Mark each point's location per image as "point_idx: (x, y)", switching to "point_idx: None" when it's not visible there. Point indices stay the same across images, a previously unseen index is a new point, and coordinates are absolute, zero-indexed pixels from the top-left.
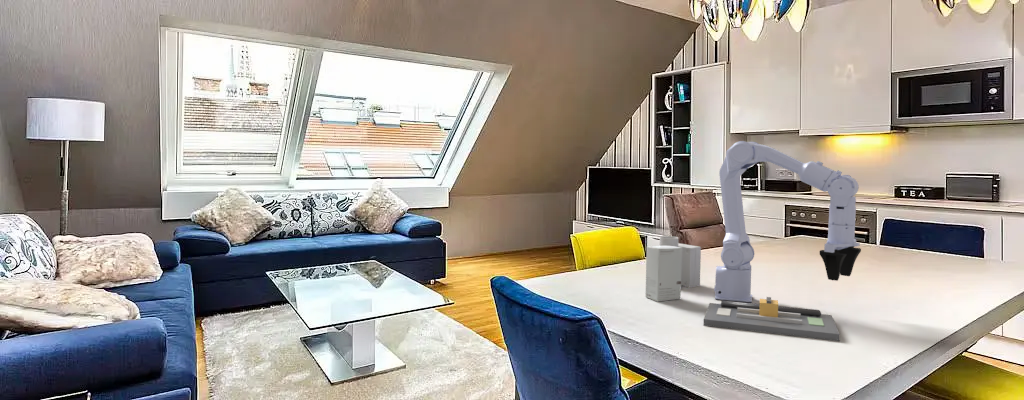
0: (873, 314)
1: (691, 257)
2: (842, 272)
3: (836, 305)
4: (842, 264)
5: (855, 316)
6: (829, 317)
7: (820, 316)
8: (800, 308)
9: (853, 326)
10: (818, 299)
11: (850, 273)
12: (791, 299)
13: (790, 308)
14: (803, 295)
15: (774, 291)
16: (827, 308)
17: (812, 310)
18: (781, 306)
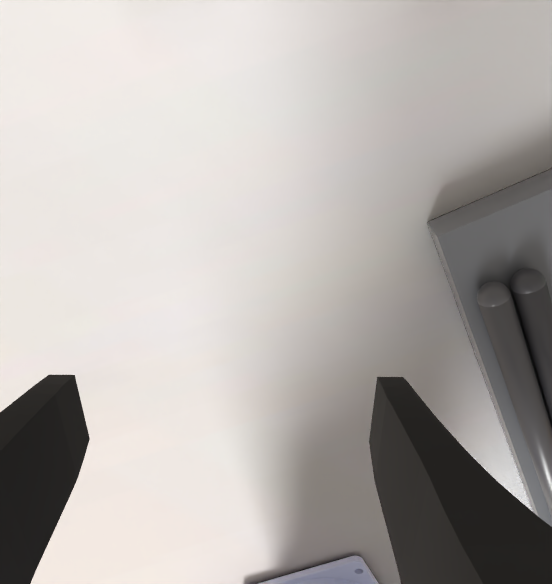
0: (38, 101)
1: None
2: (77, 448)
3: (40, 325)
4: (32, 531)
5: (196, 165)
6: (509, 223)
7: (520, 266)
8: (526, 377)
9: (460, 85)
10: None
11: (50, 388)
12: (135, 489)
13: (545, 409)
14: None
15: (61, 571)
16: (153, 332)
17: (516, 323)
18: (546, 447)
